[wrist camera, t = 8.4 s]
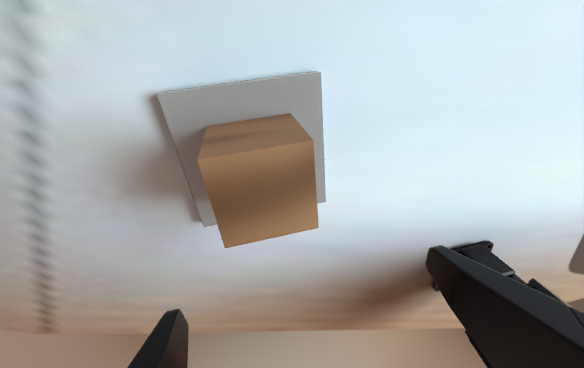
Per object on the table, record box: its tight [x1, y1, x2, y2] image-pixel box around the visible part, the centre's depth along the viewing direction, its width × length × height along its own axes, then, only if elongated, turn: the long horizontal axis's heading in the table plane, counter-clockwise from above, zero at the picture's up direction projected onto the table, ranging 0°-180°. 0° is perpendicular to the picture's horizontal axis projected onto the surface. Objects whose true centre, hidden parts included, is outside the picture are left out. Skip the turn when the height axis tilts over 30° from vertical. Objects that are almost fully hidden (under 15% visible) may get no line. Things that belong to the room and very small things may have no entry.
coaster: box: [157, 71, 326, 227], centre depth 18 cm, size 10×10×1 cm
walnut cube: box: [197, 113, 318, 248], centre depth 16 cm, size 6×6×6 cm
